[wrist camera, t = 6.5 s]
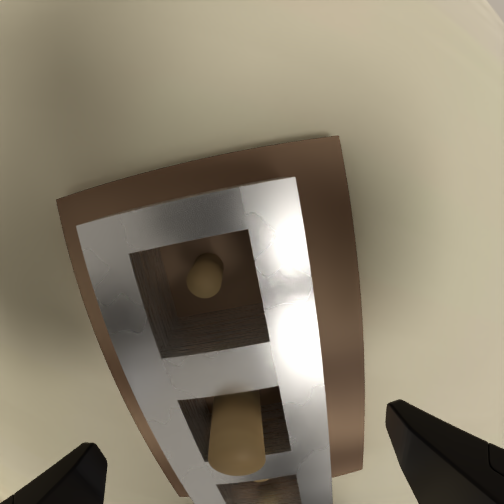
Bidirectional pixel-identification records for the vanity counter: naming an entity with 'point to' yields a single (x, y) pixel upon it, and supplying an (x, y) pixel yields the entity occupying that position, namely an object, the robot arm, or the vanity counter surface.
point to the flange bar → (219, 338)
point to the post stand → (247, 290)
